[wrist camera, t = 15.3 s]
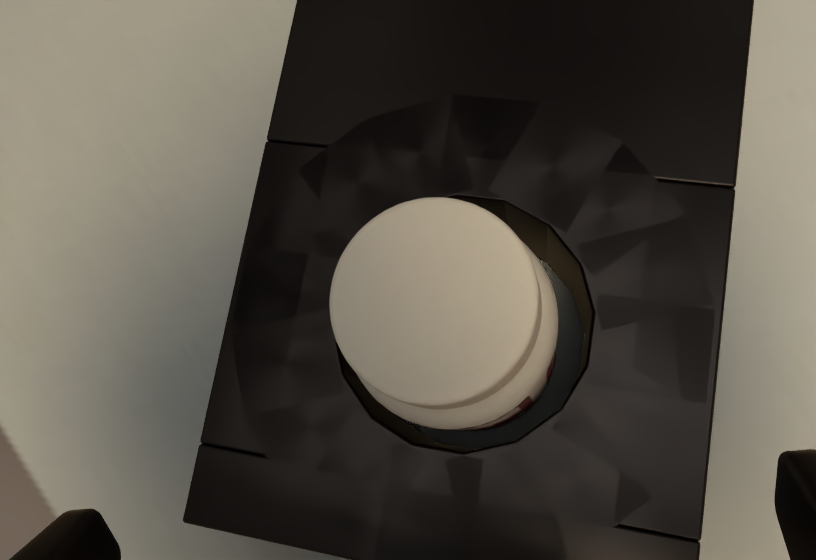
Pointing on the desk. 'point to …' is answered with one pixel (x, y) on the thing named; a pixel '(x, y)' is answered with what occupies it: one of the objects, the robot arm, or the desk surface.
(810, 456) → the robot arm
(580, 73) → the base
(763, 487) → the desk surface
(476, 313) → the pill bottle
